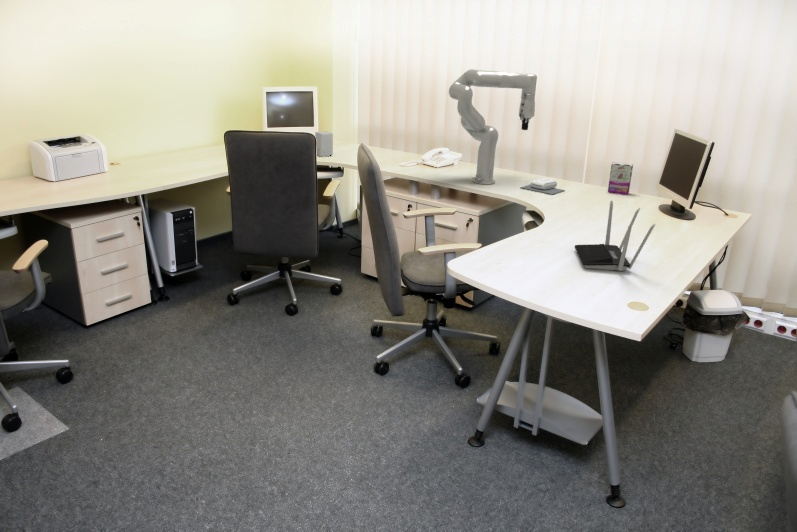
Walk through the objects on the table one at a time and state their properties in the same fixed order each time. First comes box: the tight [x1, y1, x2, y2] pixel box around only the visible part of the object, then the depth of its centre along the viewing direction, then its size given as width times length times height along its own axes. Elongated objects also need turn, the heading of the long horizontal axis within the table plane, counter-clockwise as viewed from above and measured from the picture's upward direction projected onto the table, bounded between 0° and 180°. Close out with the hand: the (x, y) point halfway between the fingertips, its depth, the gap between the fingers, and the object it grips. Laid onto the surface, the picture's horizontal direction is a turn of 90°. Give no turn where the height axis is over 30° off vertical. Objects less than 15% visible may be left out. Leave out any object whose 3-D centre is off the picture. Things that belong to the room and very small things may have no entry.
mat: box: [519, 184, 566, 196], centre depth 363 cm, size 14×20×1 cm
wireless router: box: [574, 200, 656, 272], centre depth 249 cm, size 34×23×20 cm
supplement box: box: [314, 131, 334, 157], centre depth 428 cm, size 9×9×15 cm
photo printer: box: [529, 177, 558, 190], centre depth 364 cm, size 10×4×12 cm
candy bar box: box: [607, 161, 634, 196], centre depth 360 cm, size 11×5×16 cm, turn 68°
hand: (524, 129), depth 375 cm, fingers closed
